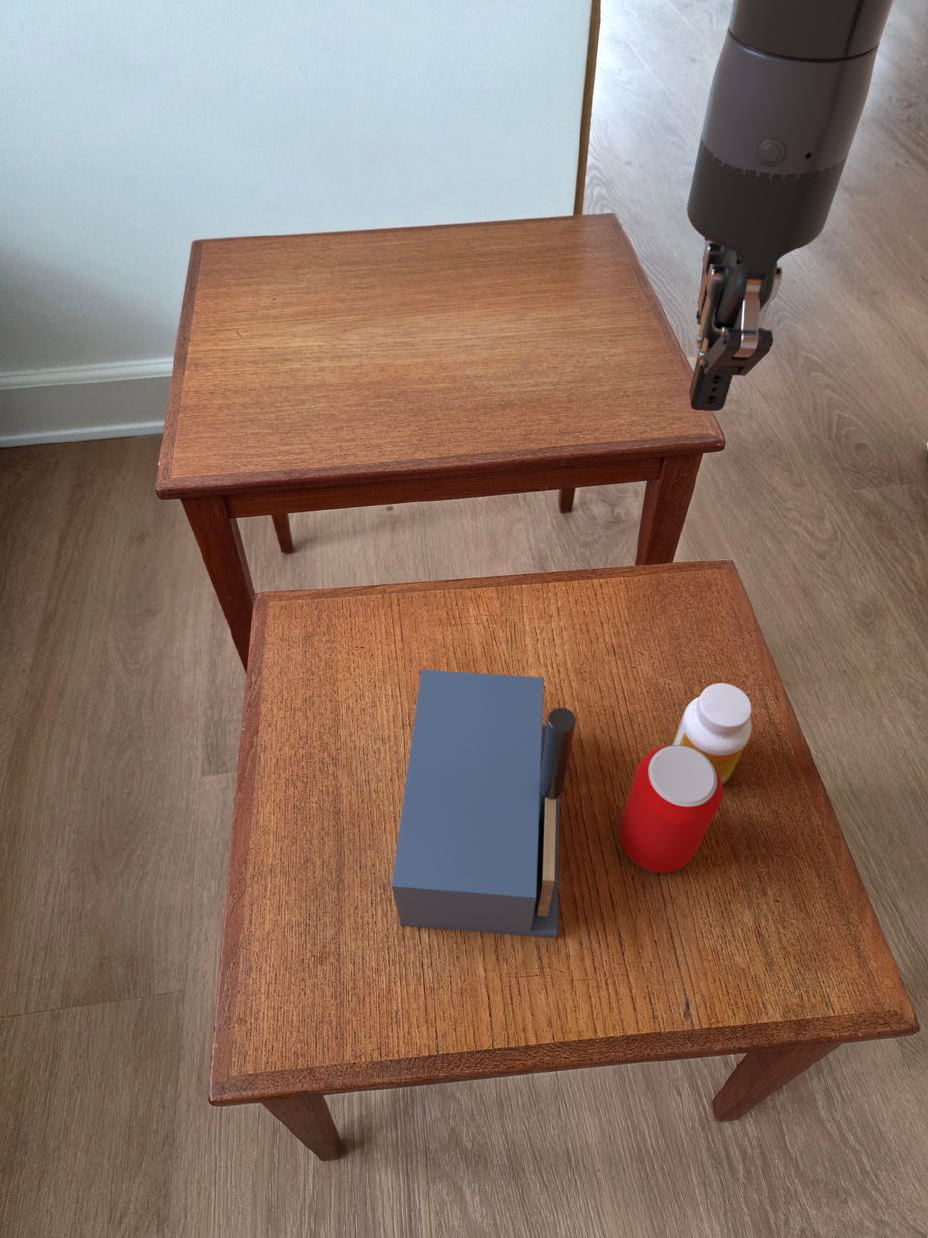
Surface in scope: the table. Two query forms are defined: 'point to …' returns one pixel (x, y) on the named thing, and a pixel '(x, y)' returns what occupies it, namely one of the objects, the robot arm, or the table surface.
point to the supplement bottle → (717, 726)
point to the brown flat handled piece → (552, 797)
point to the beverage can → (669, 808)
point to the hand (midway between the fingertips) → (705, 403)
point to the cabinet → (474, 807)
